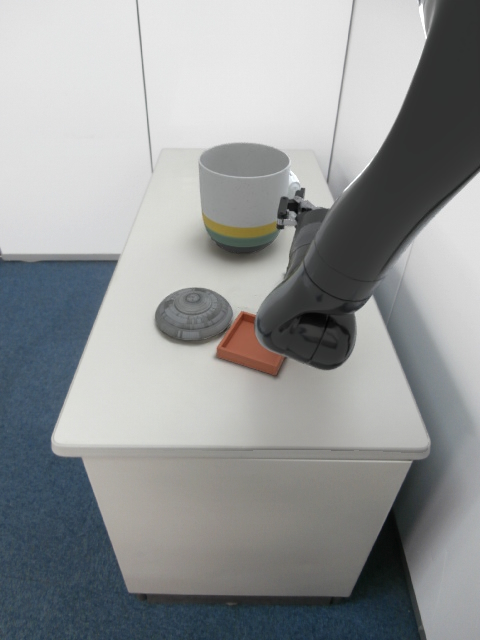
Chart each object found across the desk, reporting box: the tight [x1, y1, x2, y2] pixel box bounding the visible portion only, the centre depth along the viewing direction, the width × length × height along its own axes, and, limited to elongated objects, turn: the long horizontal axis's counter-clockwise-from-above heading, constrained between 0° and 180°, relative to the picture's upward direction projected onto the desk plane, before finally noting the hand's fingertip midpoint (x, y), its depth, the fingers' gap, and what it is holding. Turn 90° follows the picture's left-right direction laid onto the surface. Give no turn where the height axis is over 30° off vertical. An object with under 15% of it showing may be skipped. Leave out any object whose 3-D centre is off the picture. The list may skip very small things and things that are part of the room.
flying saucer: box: [154, 286, 234, 341], centre depth 87 cm, size 15×15×6 cm
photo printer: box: [287, 170, 302, 217], centre depth 118 cm, size 10×4×12 cm, turn 21°
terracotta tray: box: [216, 310, 286, 377], centre depth 82 cm, size 11×11×2 cm
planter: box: [197, 141, 292, 255], centre depth 102 cm, size 20×20×21 cm
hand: (329, 196), depth 72 cm, fingers open, 8 cm apart
